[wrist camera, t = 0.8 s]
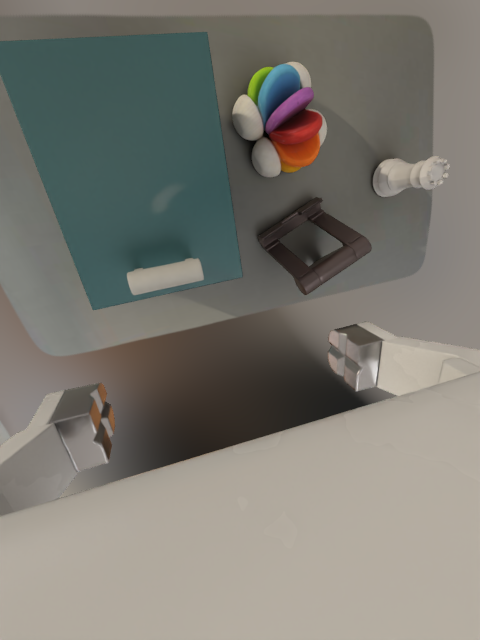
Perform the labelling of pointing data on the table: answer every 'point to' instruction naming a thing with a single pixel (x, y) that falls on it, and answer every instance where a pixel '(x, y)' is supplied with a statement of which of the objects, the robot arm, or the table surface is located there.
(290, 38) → the table surface
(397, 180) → the rook chess piece
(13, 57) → the lid
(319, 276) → the tablet stand
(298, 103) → the multicoloured rounded lobed piece
